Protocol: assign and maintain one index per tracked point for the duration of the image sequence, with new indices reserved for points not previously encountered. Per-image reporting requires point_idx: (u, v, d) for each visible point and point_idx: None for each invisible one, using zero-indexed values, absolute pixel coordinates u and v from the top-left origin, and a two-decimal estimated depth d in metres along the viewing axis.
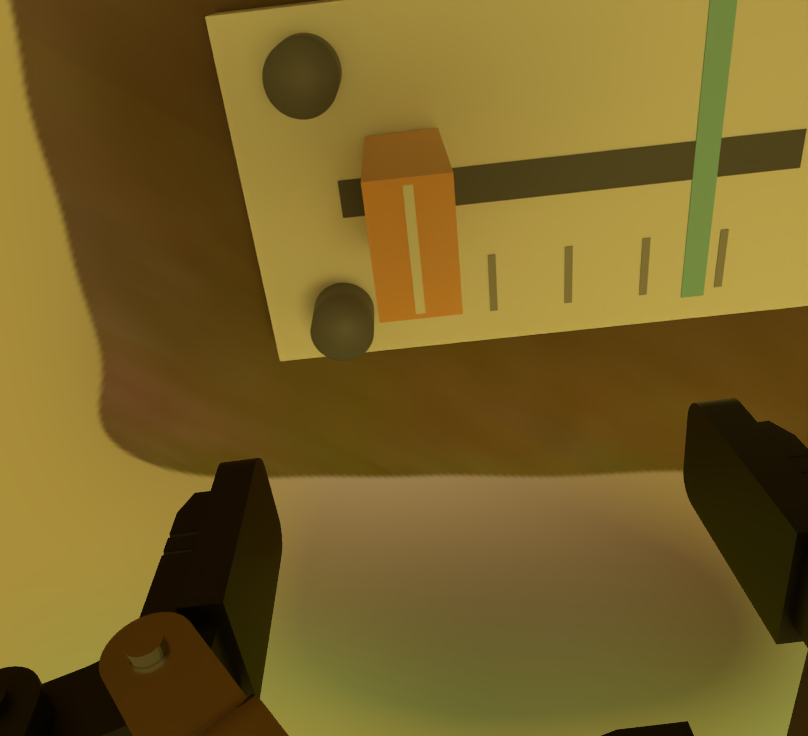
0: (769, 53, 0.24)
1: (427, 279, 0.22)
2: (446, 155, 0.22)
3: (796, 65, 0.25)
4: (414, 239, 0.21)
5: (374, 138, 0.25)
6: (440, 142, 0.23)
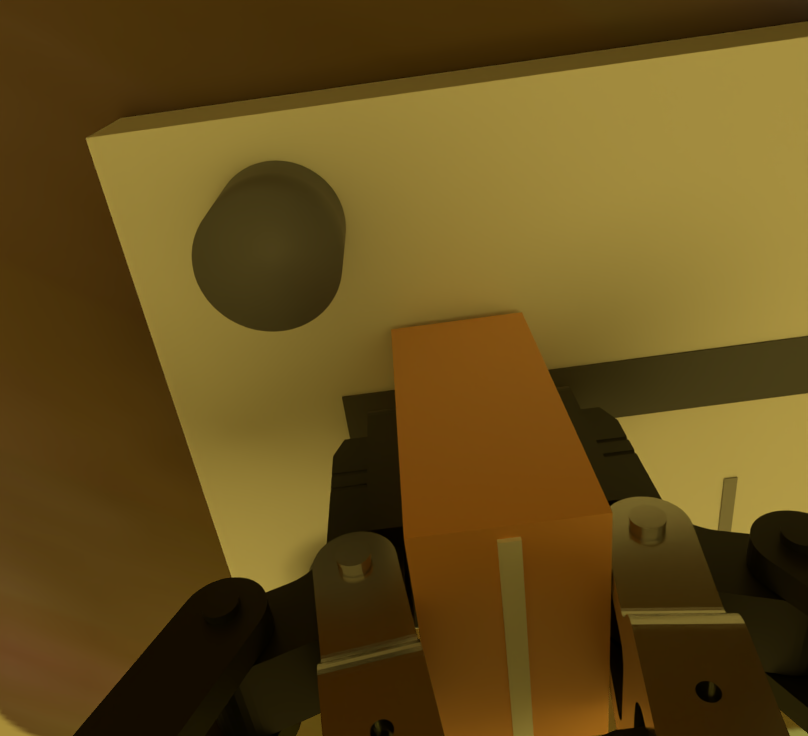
0: None
1: (540, 687, 0.10)
2: (571, 426, 0.10)
3: None
4: (518, 627, 0.10)
5: (410, 339, 0.14)
6: (541, 367, 0.12)
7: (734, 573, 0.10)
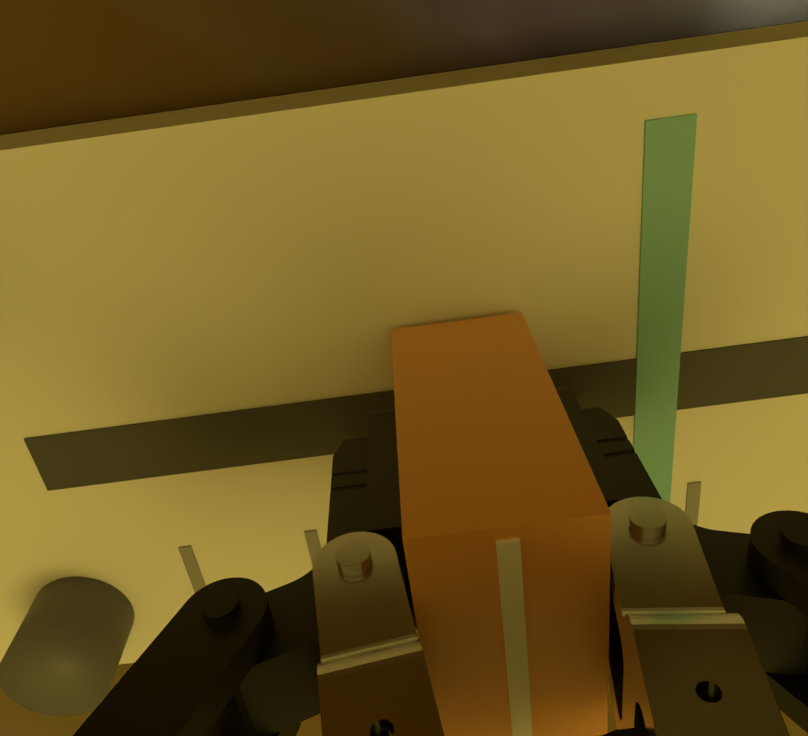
0: (758, 219, 0.14)
1: (539, 687, 0.10)
2: (570, 426, 0.10)
3: (807, 237, 0.14)
4: (517, 628, 0.10)
5: (409, 339, 0.14)
6: (541, 367, 0.12)
7: (734, 573, 0.10)
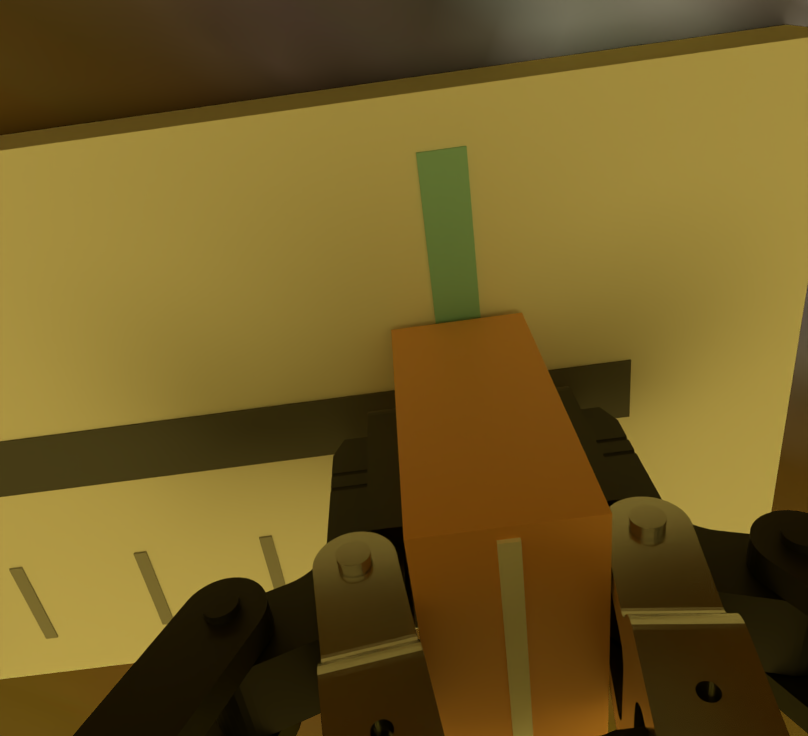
0: (545, 248, 0.14)
1: (539, 687, 0.10)
2: (571, 426, 0.10)
3: (596, 265, 0.14)
4: (517, 628, 0.10)
5: (410, 339, 0.14)
6: (541, 367, 0.12)
7: (734, 573, 0.10)
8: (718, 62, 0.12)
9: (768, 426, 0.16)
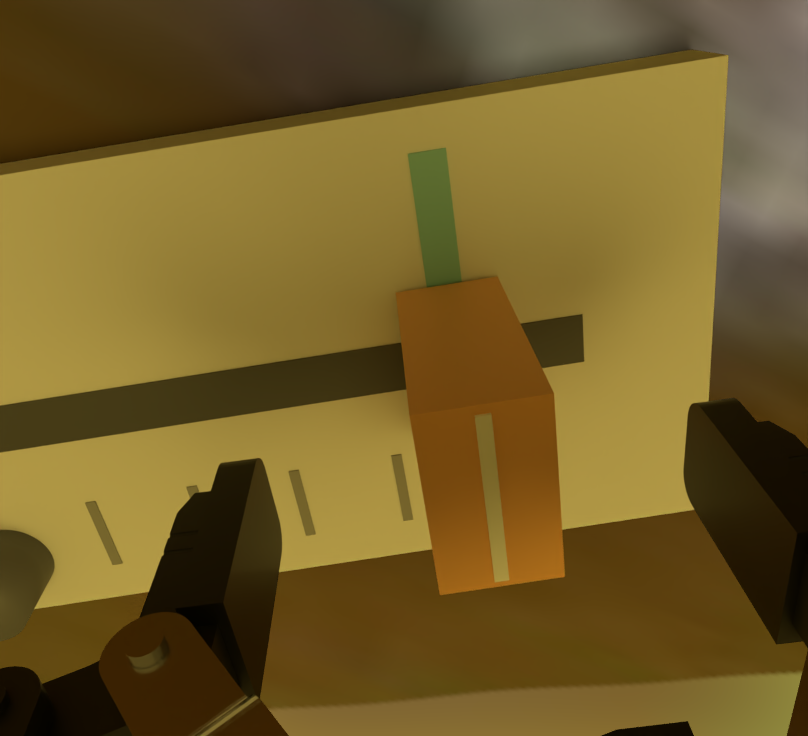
0: (509, 225, 0.18)
1: (512, 536, 0.14)
2: (529, 346, 0.14)
3: (550, 238, 0.18)
4: (493, 486, 0.14)
5: (410, 298, 0.18)
6: (510, 311, 0.16)
7: None
8: (633, 80, 0.16)
9: (696, 368, 0.20)
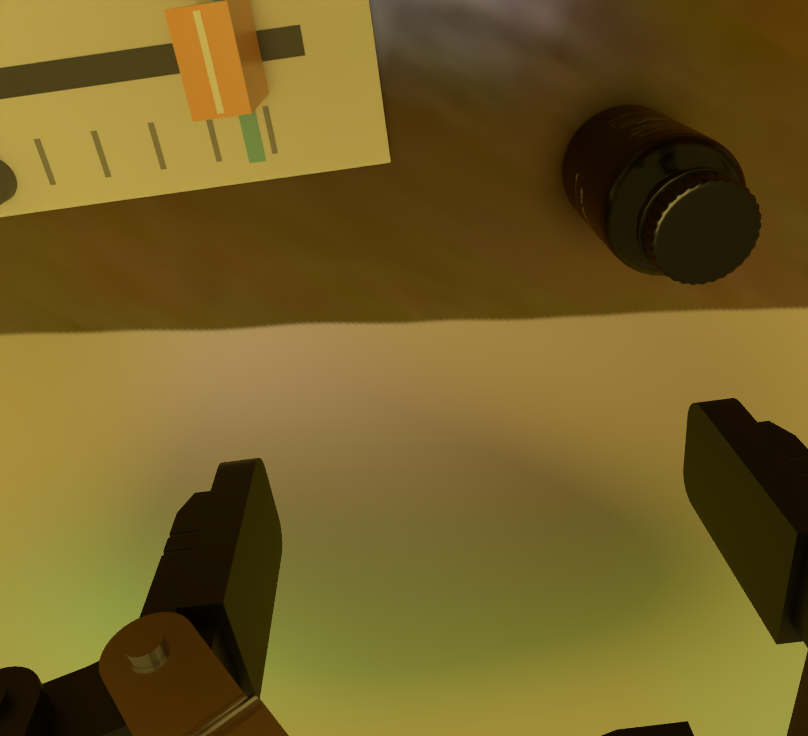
0: None
1: (221, 85, 0.30)
2: None
3: None
4: (207, 53, 0.30)
5: None
6: None
7: None
8: None
9: (369, 63, 0.36)
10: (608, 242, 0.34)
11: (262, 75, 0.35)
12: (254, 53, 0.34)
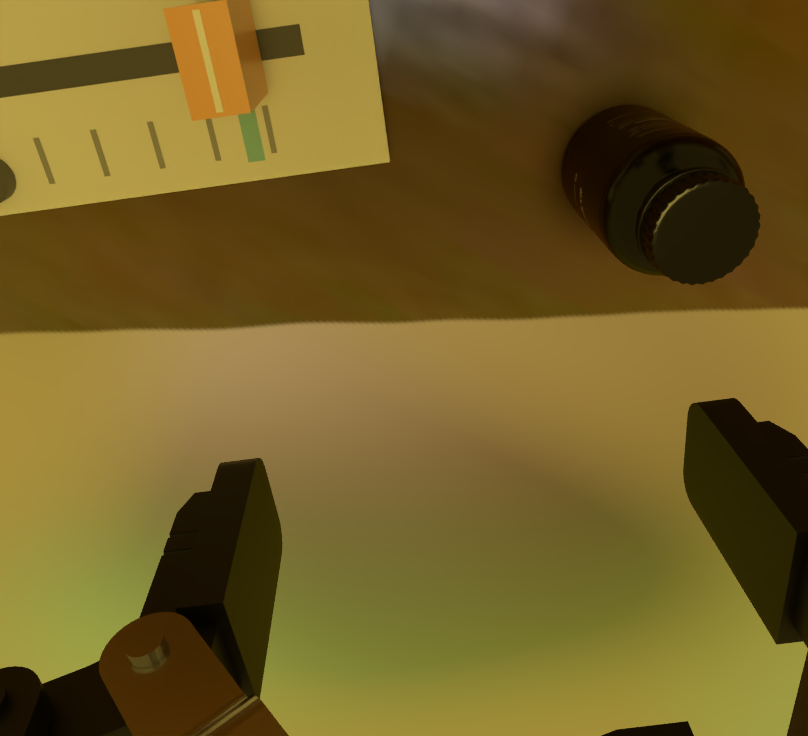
0: None
1: (221, 84, 0.30)
2: None
3: None
4: (207, 52, 0.30)
5: None
6: None
7: None
8: None
9: (369, 62, 0.36)
10: (607, 242, 0.34)
11: (261, 74, 0.35)
12: (253, 52, 0.34)
